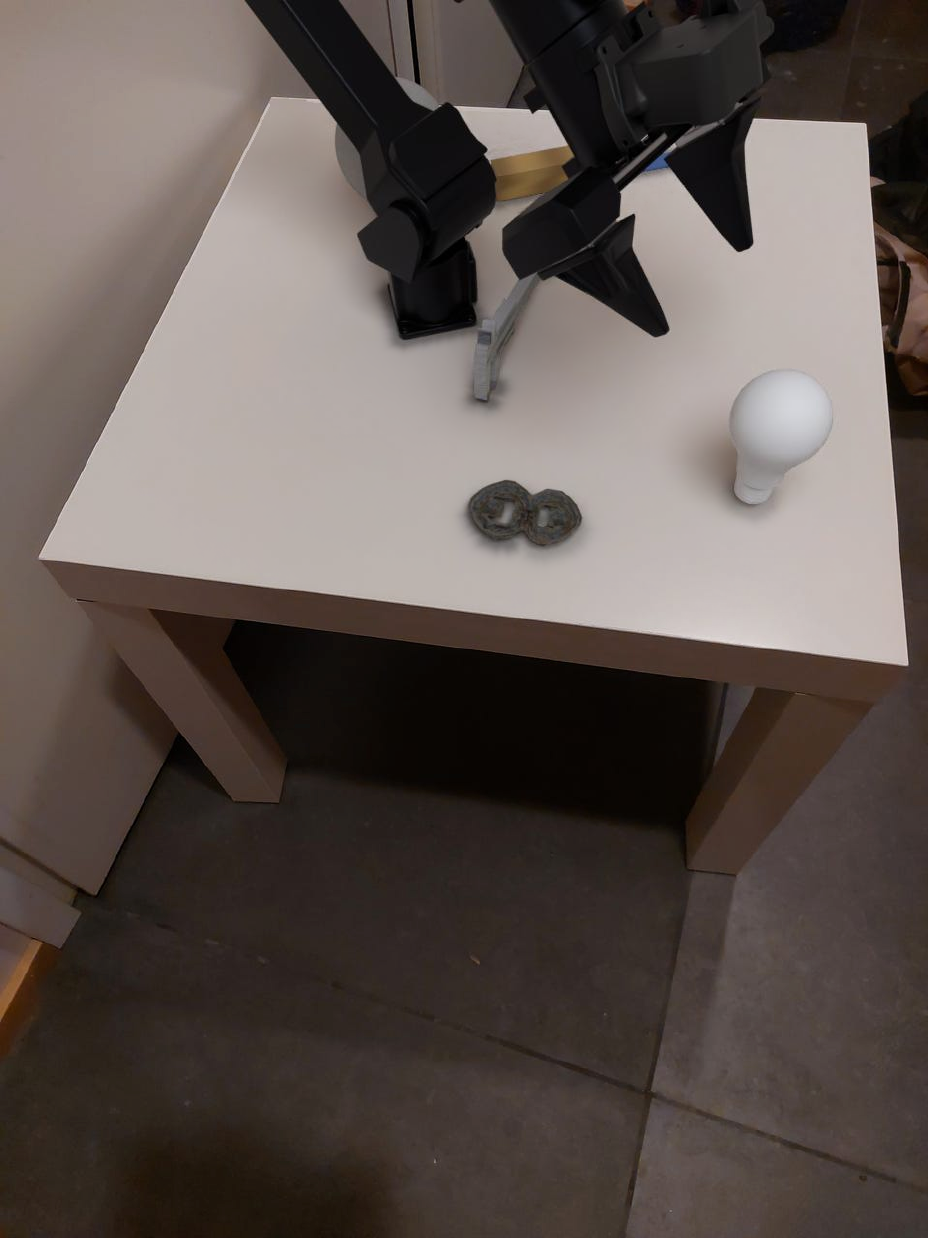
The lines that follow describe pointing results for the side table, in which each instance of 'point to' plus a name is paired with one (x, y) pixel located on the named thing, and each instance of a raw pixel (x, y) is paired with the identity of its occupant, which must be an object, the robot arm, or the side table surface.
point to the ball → (350, 155)
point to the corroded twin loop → (524, 512)
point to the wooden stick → (530, 172)
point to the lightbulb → (777, 429)
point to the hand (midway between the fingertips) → (705, 290)
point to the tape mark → (658, 163)
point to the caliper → (498, 336)
